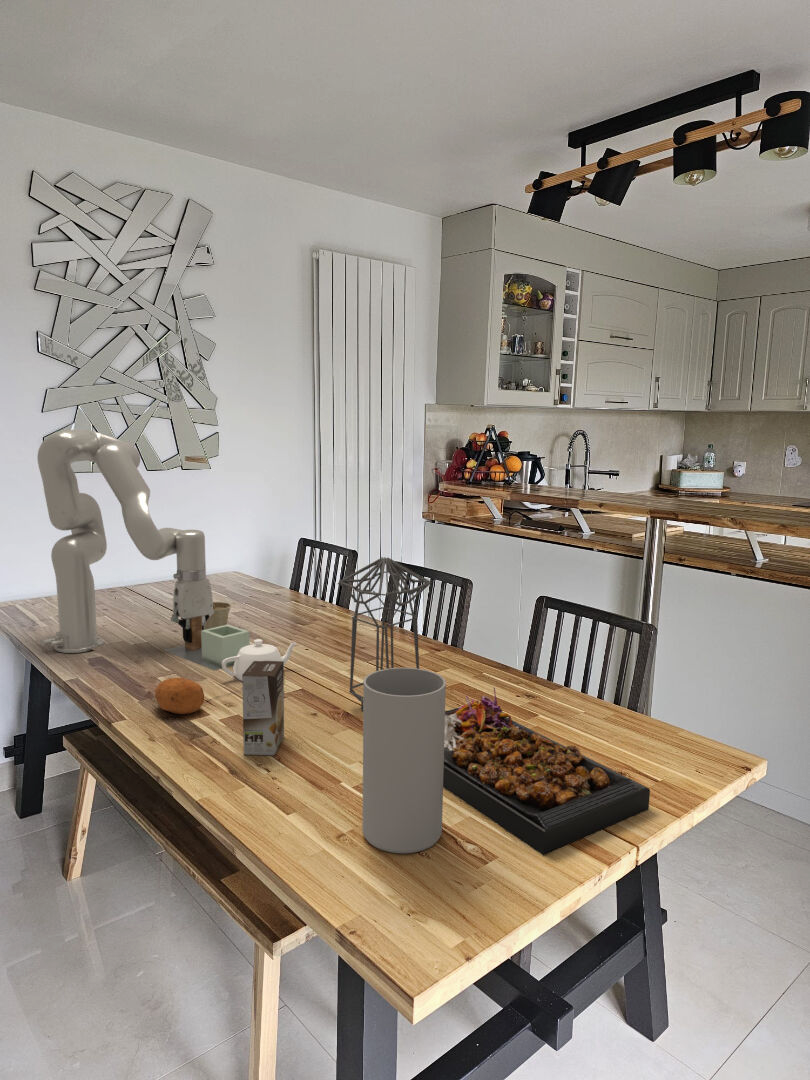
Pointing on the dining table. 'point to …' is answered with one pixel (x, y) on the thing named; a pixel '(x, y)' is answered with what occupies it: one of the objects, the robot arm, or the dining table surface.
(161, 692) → the potato
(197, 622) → the brown wooden block
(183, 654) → the slate board
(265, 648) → the teapot
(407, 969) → the dining table surface
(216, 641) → the square sage planter
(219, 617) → the flower pot
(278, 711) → the coffee box
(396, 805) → the cylinder vase
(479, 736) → the food platter
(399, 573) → the geometric lantern
